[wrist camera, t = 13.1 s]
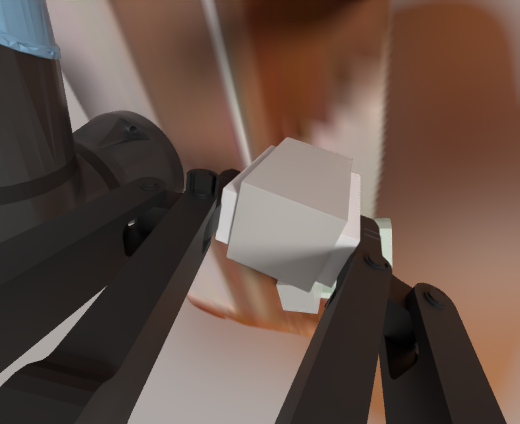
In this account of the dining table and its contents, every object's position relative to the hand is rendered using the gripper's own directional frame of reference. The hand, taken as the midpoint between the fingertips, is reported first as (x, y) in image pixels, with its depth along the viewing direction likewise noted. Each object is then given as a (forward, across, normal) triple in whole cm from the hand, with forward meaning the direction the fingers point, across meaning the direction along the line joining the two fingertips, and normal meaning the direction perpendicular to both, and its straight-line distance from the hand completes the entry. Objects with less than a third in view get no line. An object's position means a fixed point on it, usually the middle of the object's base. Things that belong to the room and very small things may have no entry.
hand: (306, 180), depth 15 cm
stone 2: (+12, +3, -16) cm, 20 cm away
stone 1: (0, 0, 0) cm, 0 cm away
